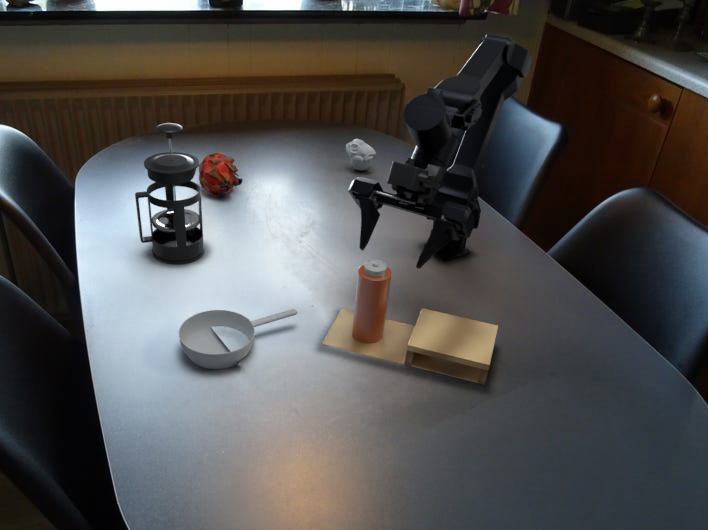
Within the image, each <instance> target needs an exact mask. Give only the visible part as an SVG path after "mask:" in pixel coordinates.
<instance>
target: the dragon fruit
mask: <svg viewBox="0 0 708 530" xmlns="http://www.w3.org/2000/svg"><path fill="white" fill-rule="evenodd" d="M234 162H235V159H234V158H233V157H232V156H227V155H226V154H225V153H224V152H221V151H217V152H212V153H209V154H207V155H205V157H204V158H203V159H202V161H201V162H199V166H198V167H197V168H198V181H199V185H200V188H202V189H205V188H206V189H207V191H208V192H209V193H210V194H211V195H212V196H214V197H217V198H221V194H222V193H223V194H226V195H228V194H230V193H231V192H233V187H237V186H241V185H242V183H243V178H242V177H241V178H239V174H238V171H239V169H238V167H237V166H236V165H234Z"/></svg>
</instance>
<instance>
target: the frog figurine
mask: <svg viewBox="0 0 708 530" xmlns="http://www.w3.org/2000/svg"><path fill="white" fill-rule="evenodd" d="M345 151H346V153H347V155H348V157H349V158H350V160H349V161H350V165H351V167H353V168H354V169H355V170H357V171H366V170H368V169H369V168H370V167H371V165H372V163H373V160H374V156H376V155H377V152H376V150H375V148H373V147H372V146H371V145H369V144H368V143H366V142H364V140H363V139H359V138H354V139H353V140H352V141H350V142H348V143H346V144H345Z"/></svg>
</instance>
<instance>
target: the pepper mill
mask: <svg viewBox="0 0 708 530" xmlns="http://www.w3.org/2000/svg"><path fill="white" fill-rule="evenodd" d="M392 275H393V273H392V270H391V269H390V267H388V266H387V264H386V263H385V262H383V261H382V260H378V259H372V260H371V259H370V260H367V261H365V262H364V263H363V264H362V265H360V266H359V267H358V269H357V276H356V284H355V285H356V286H355V296H354V305H353V306H354V307H353V311H354V314H353V324H352V335H353V337H354V338H355V339H356V340H358V341H360V342H363V343H376V342H378V341H380V340H381V339H382V338H383V334H384V327H385V319H387V311H388V303H389V296H390V288H391V282H392Z"/></svg>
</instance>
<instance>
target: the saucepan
mask: <svg viewBox="0 0 708 530" xmlns="http://www.w3.org/2000/svg"><path fill="white" fill-rule="evenodd" d="M297 314H298V310H297V309H295V308H290V309H287V310H284V311H281V312H277V313H274V314H270V315H267V316H263V317H260V318H257V319H253V320H250V319H249V318H248V317H247V316H245V315H243V314H241V313H239V312H235V311H232V310H225V309H213V310H211V309H210V310H205V311H200V312H198V313H195V314H192V315H191V316H189V317H188V318H186V319H185V320H184V321H183V322H182V324H181V325H180V327H179V330H178V338H179V343H180V347H181V349H182V351H183V352H184V353H185V355H186V356H187V357H188V358H189V359H190V360H191V361H192V362H193V363H194V364H195V365H197V366H199V367H201V368H205V369H209V370H210V369H211V370H222V369H228V368H231V367H235V366H237V365H238V364H239V363H240V361H241V360H242V359H244V358H245V357H247V355H248V354H249V353H250V351H251V349H252V348H253V345H254V342H255V333H256V329H255V328H257V327H260V326H263V325H266V324H271V323H274V322H276V321H281V320H283V319H287V318H290V317H293V316H296V315H297ZM213 327H215V328H216V327H224V328H231V329H234V330H237V331H239V332H241V333H242V334H243V335H245V337H247V339H248V343H246V344H245V345H244V346H242V347H240V348H238V349H236V350H232V351H231V350H230V349H229V348H228V346H227V344H225V342H224V341H223V339H221V338H220V336H219V335H218V334H217V332H216V331H215V330H214V329H213Z"/></svg>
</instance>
